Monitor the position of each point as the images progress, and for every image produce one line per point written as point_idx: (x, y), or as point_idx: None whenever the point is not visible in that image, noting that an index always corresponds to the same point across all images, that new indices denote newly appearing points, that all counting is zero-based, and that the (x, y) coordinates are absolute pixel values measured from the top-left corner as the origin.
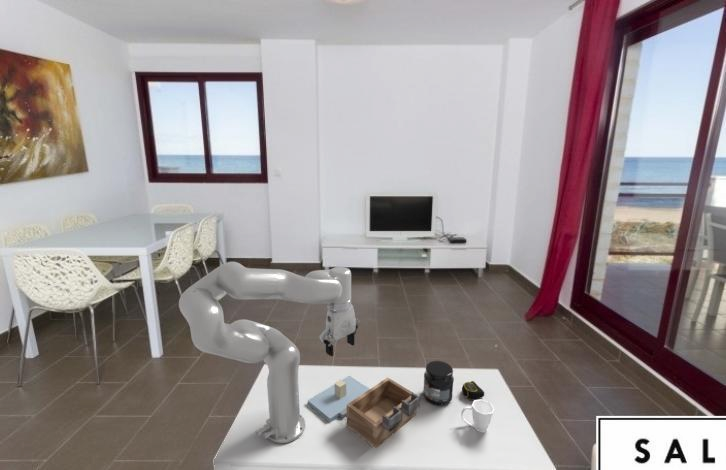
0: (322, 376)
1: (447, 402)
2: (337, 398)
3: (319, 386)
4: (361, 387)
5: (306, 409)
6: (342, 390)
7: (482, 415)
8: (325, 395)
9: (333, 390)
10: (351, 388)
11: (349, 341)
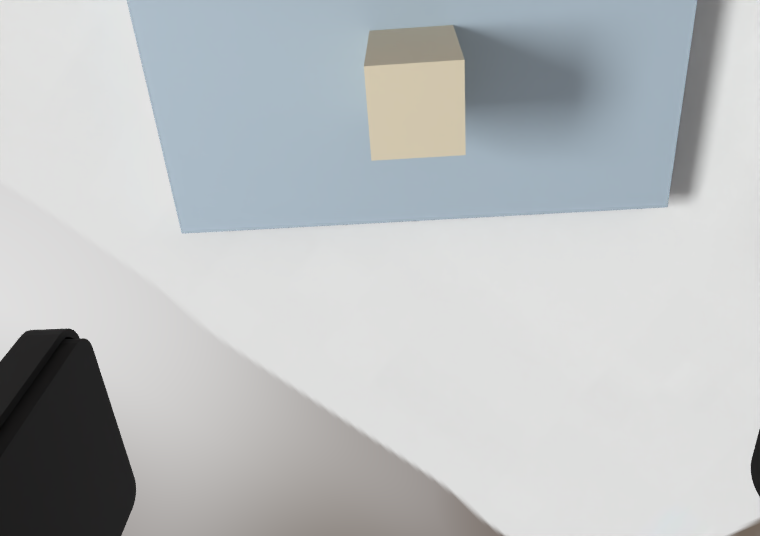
0: (358, 367)
1: None
2: (465, 52)
3: (450, 294)
4: (176, 23)
5: (713, 145)
6: (422, 47)
7: None
8: (517, 159)
9: (420, 166)
10: (269, 78)
11: (94, 477)
